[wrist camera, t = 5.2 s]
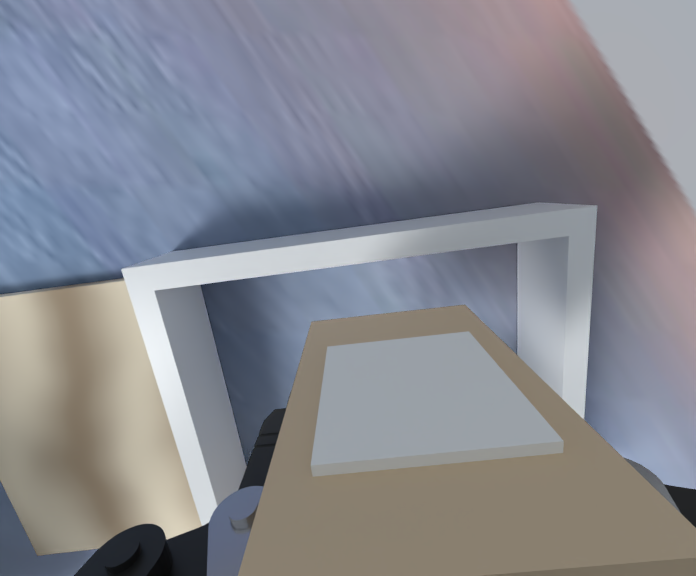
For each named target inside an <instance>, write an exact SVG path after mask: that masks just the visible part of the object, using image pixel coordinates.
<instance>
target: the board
mask: <svg viewBox="0 0 696 576" xmlns="http://www.w3.org/2000/svg"><path fill="white" fill-rule="evenodd" d="M0 481H1V483H2V485H3V487H4V489H5V491H6V493H7V495H8V497H9V499H10V501H11V503H12V505H13V507H14V509H15V511H16V513H17V515H18V517H19V520H20V522H21V524H22V526H23V528H24V530H25V532H26V534H27V536H28V538H29V540H30V542H31V544H32V546H33V548H34V550H35V552H36V554H37V556H40V555H49V554H57V553H66V552H74V551H83V550H91V549H99V548H100V547H101V546H102V545H104V544H105V543H106V542H107V541H108V540H110V539H111V538H113V537H114V536H115V535H117V534H119V533H120V532H122V531H124V530H126V529H128V528H131V527H134V526H137V525H141V524H155V525H158V526H159V527H161V528H162V529H163V531H164V533H165V536H166V539H170V538H172V537H175V536H178V535H180V534H183V533H186V532H188V531H191V530H193V529H196V528H199V527H201V526H202V525H201V521H200V518H199V515H198V512H197V509H196V505H195V502H194V499H193V496H192V493H191V490H190V486H189V483H188V480H187V477H186V474H185V470H184V467H183V464H182V461H181V458H180V455H179V451H178V448H177V445H176V442H175V439H174V436H173V432H172V429H171V426H170V423H169V420H168V416H167V413H166V410H165V407H164V404H163V401H162V397H161V394H160V391H159V388H158V385H157V382H156V378H155V375H154V372H153V369H152V366H151V362H150V359H149V356H148V353H147V350H146V347H145V343H144V340H143V337H142V334H141V331H140V327H139V324H138V321H137V318H136V315H135V312H134V308H133V305H132V302H131V299H130V296H129V293H128V289H127V286H126V283H125V280H124V278H121V279H114V280H106V281H98V282H91V283H83V284H76V285H68V286H61V287H53V288H46V289H38V290H31V291H23V292H16V293H8V294H0Z"/></svg>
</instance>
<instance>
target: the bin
mask: <svg viewBox="0 0 696 576" xmlns="http://www.w3.org/2000/svg"><path fill="white" fill-rule="evenodd" d="M596 219H597V205H579V204H560V203H542V202H537V203H529V204H522V205H515V206H507V207H500V208H492V209H485V210H477V211H470V212H462V213H455V214H447V215H440V216H432V217H425V218H417V219H410V220H402V221H395V222H387V223H380V224H373V225H365V226H358V227H350V228H343V229H335V230H328V231H320V232H313V233H305V234H298V235H290V236H283V237H275V238H268V239H260V240H253V241H246V242H238V243H231V244H223V245H216V246H208V247H201V248H193V249H186V250H178V251H171V252H168V253H165V254H162V255H160V256H157V257H154V258H151V259H148V260H145V261H142V262H140V263H137V264H134V265H131V266H128V267H125V268H122V269H121V270H122V273H123V277H124V280H125V283H126V286H127V289H128V293H129V296H130V299H131V302H132V305H133V308H134V312H135V315H136V318H137V321H138V324H139V327H140V331H141V334H142V337H143V340H144V343H145V347H146V350H147V353H148V356H149V359H150V362H151V366H152V369H153V372H154V375H155V378H156V382H157V385H158V388H159V391H160V394H161V397H162V401H163V404H164V407H165V410H166V413H167V416H168V420H169V423H170V426H171V429H172V432H173V436H174V439H175V442H176V445H177V448H178V451H179V455H180V458H181V461H182V464H183V467H184V470H185V474H186V477H187V480H188V483H189V486H190V490H191V493H192V496H193V499H194V502H195V505H196V509H197V512H198V515H199V518H200V521H201V525H202V526H203V525H205V524H207V523H209V521H210V518H211V516H212V514H213V512H214V510H215V509H216V508H217V506H218V505H219V504H220V503H221V502H222V501H223V500H224V499H225V498H226V497H228V496H229V495H231V494H232V493H234V492H236V491H238V489H239V486H240V484H241V481H242V478H243V476H244V473H245V470H246V468H247V466H246V462H245V458H244V454H243V450H242V446H241V442H240V439H239V435H238V431H237V427H236V423H235V419H234V415H233V411H232V407H231V403H230V399H229V395H228V391H227V387H226V384H225V380H224V376H223V372H222V368H221V364H220V360H219V356H218V352H217V348H216V344H215V340H214V336H213V333H212V329H211V325H210V321H209V317H208V313H207V309H206V305H205V301H204V297H203V293H202V289H201V284H208V283H216V282H223V281H231V280H239V279H246V278H254V277H261V276H269V275H277V274H284V273H292V272H299V271H307V270H315V269H322V268H330V267H337V266H345V265H352V264H360V263H368V262H375V261H383V260H390V259H398V258H406V257H413V256H421V255H428V254H436V253H444V252H451V251H459V250H466V249H474V248H482V247H489V246H497V245H504V244H512V243H517V356H519V357H520V358H521V359H522V360H523V361H524V362H525V363H526V364H527V365H528V366H529V367H530V368H531V369H532V370H533V371H534V372H535V373H536V374H537V375H538V376H539V377H540V378H541V379H542V380H543V381H544V382H545V383H546V384H547V385H549V386H550V387H551V388H552V389H553V390H554V391H555V392H556V393H557V394H558V395H559V396H560V397H561V398H562V399H563V400H564V401H565V402H566V403H567V404H568V405H569V406H570V407H571V408H572V409H573V410H574V411H575V412H576V413H577V414H579V415H580V416H581V417H582V418H583V419H584V413H585V397H586V381H587V365H588V349H589V332H590V316H591V300H592V284H593V268H594V251H595V235H596Z"/></svg>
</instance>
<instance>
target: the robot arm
mask: <svg viewBox="0 0 696 576" xmlns="http://www.w3.org/2000/svg"><path fill="white" fill-rule="evenodd" d="M290 394H291V393H290ZM289 398H290V396H289ZM288 401H289V400H288ZM287 405H288V403H287ZM286 408H287V407H286ZM286 408H284V409H275V410H274V411H273V412H272V413H271V414H270V415H269V416H268V417H267V418H266V419H265V420H264V422H263V425H262V427H261V430H260V433H259V437H258V438H257V441H256V443H255V448H254V449H253V452H252V454H251V457H250V460H249V462H248V465H247V468H246V470H245V473H244V476H243V478H242V481H241V484H240V486H239V489H238V491H236V492H234V493H232V494H231V495H229V496H228V497H226V498H225V499H224V500H223V501H222V502H221V503H220V504H219V505H218V506H217V508H216V509H215V510H214V512H213V514H212V516H211V518H210V521H209V523H207V524H205V525H203V526H201V527H199V528H196V529H193V530H191V531H188V532H186V533H183V534H180V535H178V536H175V537H172V538H170V539H166V536H165V533H164V531H163V529H162V528H161V527H159V526H158V525H155V524H141V525H137V526H134V527H131V528H128V529H126V530H124V531H122V532H120V533H119V534H117V535H115V536H114V537H113V538H111V539H110V540H108V541H107V542H106V543H105V544H104V545H102V546H101V547H100V548H99V549H98V550H97V551H96V552H95V553H94V554H93V556H92V557H91V558H90V559H89V560H88V561H87V562H86V563H85V564H84V565H83V566H82V567H81V569H80V570H79V571H78V572H77V573H76V574H75V575H74V576H238V573H239V570H240V567H241V563H242V560H243V556H244V553H245V549H246V546H247V542H248V539H249V536H250V532H251V529H252V525H253V522H254V518H255V515H256V511H257V508H258V505H259V501H260V498H261V494H262V491H263V487H264V484H265V480H266V477H267V473H268V470H269V467H270V463H271V460H272V456H273V453H274V449H275V446H276V442H277V439H278V436H279V432H280V429H281V425H282V422H283V418H284V415H285V411H286ZM624 459H625V460H626V461H627V462H628V463H629V464H630V465H631V466H632V467H633V468H634V469H635V470H636V471H637V472H639V473H640V474H641V475H642V476H643V477H644V478H645V479H646V480H647V481H648V482H649V483H650V484H651V485H652V486H653V487H654V488H655V489H656V490H657V491H658V492H659V493H660V494H661V495H662V496H663V497H664V498H665V499H666V500H667V501H669V502H670V503H671V504H672V505H673V506H674V507H675V508H676V509H677V510H678V511H679V512H680V513H681V514H682V515H683V516H684V517H685V518H686V519H687V520H688V521H689V522H690V523H691V524H692V525H693V526H694V527H695V528H696V490H695V489H688V488H682V487H675V486H669V485H664V484H663V483H662V481H661V480H660V479H659V478H658V477H657V476H656V475H655V474H653V473H652V472H651V471H649V470H648V469H647V468H645V467H643V466H642V465H640V464H638V463H636V462H634V461H631V460H629V459H626V458H624Z"/></svg>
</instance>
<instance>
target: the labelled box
mask: <svg viewBox="0 0 696 576" xmlns="http://www.w3.org/2000/svg"><path fill="white" fill-rule="evenodd" d="M238 576H696V528H695V527H694V526H693V525H692V524H691V523H690V522H689V521H688V520H687V519H686V518H685V517H684V516H683V515H682V514H681V513H680V512H679V511H678V510H677V509H676V508H675V507H674V506H673V505H672V504H671V503H670V502H669V501H667V500H666V499H665V498H664V497H663V496H662V495H661V494H660V493H659V492H658V491H657V490H656V489H655V488H654V487H653V486H652V485H651V484H650V483H649V482H648V481H647V480H646V479H645V478H644V477H643V476H642V475H641V474H640V473H639V472H637V471H636V470H635V469H634V468H633V467H632V466H631V465H630V464H629V463H628V462H627V461H626V460H625V459H624V458H623V457H622V456H621V455H620V454H619V453H618V452H617V451H616V450H615V449H614V448H613V447H612V446H611V445H610V444H609V443H607V442H606V441H605V440H604V439H603V438H602V437H601V436H600V435H599V434H598V433H597V432H596V431H595V430H594V429H593V428H592V427H591V426H590V425H589V424H588V423H587V422H586V421H585V420H584V419H583V418H582V417H581V416H580V415H579V414H577V413H576V412H575V411H574V410H573V409H572V408H571V407H570V406H569V405H568V404H567V403H566V402H565V401H564V400H563V399H562V398H561V397H560V396H559V395H558V394H557V393H556V392H555V391H554V390H553V389H552V388H551V387H550V386H549V385H547V384H546V383H545V382H544V381H543V380H542V379H541V378H540V377H539V376H538V375H537V374H536V373H535V372H534V371H533V370H532V369H531V368H530V367H529V366H528V365H527V364H526V363H525V362H524V361H523V360H522V359H521V358H520V357H519V356H517V355H516V354H515V353H514V352H513V351H512V350H511V349H510V348H509V347H508V346H507V345H506V344H505V343H504V342H503V341H502V340H501V339H500V338H499V337H498V336H497V335H496V334H495V333H494V332H493V331H492V330H491V329H490V328H489V327H488V326H486V325H485V324H484V323H483V322H482V321H481V320H480V319H479V318H478V317H477V316H476V315H475V314H474V313H473V312H472V311H471V310H470V309H469V308H468V307H467V306H466V305H458V306H449V307H440V308H431V309H422V310H413V311H404V312H395V313H386V314H376V315H367V316H358V317H349V318H340V319H331V320H322V321H313V322H311V325H310V329H309V332H308V336H307V339H306V342H305V346H304V349H303V353H302V356H301V360H300V363H299V367H298V370H297V374H296V377H295V380H294V384H293V387H292V391H291V394H290V398H289V401H288V405H287V408H286V411H285V415H284V418H283V422H282V425H281V429H280V432H279V436H278V439H277V442H276V446H275V449H274V453H273V456H272V460H271V463H270V467H269V470H268V473H267V477H266V480H265V484H264V487H263V491H262V494H261V498H260V501H259V505H258V508H257V511H256V515H255V518H254V522H253V525H252V529H251V532H250V536H249V539H248V542H247V546H246V549H245V553H244V556H243V560H242V563H241V567H240V570H239V573H238Z"/></svg>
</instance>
